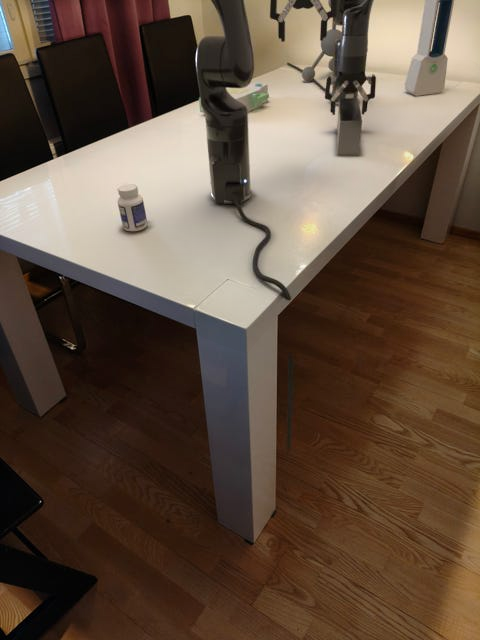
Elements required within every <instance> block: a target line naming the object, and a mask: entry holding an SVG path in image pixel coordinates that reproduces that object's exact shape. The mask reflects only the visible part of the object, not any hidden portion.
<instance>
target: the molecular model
mask: <svg viewBox="0 0 480 640" xmlns="http://www.w3.org/2000/svg"><path fill="white" fill-rule="evenodd" d="M328 7H329V8H330V9H331V0H328ZM331 23H332V24H331V29H329V30H328V29H327V35H326V38H323V41H320V48H321V52H320V54H318V56H317V58H316V59H315V61H314V62H313V64H312V65H311V66H306V67H304V68H303V69H302V70H303V71H302V72H301V78H302V80H304V81H305V82H311V81H313V79H315V76H316V71H315V69H316V67H317V66H318V64H320V62H321V60H322V58H323V57H324V56H327V57H332V58H330V59H329V61H328V69H329V71H331V72H333V68H334V52H335V41H336V39H338V38H340V37H341V36H342V30H339V29H337V25H335V24H334V22H333V20H332V21H331Z"/></svg>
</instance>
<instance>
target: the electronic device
mask: <svg viewBox="0 0 480 640" xmlns="http://www.w3.org/2000/svg"><path fill="white" fill-rule="evenodd" d="M454 5H455V0H424V6H423V11H422V17H421V24H420V31H419V32H420V33H419V37H418V43H417V44H418V45H417V51H416V53H415V54H414V55H413V57H411V60H410V64H409V66H408V71H407V75H406V78H405V81H404V90H405V91H406V93H408V94H411V95H413V96H415V97H418V96H425V95H435V94H441V93H442V92H443V91H444V89H445V85H446V76H447V67H448V59H449V58H448V57H447V55H446V54H445V51H446V47H447V42H448V37H449V32H450V25H451V21H452V16H453V9H454Z"/></svg>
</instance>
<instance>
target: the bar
mask: <svg viewBox="0 0 480 640" xmlns="http://www.w3.org/2000/svg"><path fill="white" fill-rule="evenodd" d="M362 118H363V117H362V110H361V105H360V99H359V97H358V98H339V105H338V110H337V125H336V127H337V128H336V138H337V140H336V142H337V145H336V147H337V148H336V149H337V156H341V157H342V156H347V157H349V156H357V157H358V156H360V146H361V136H362V128H363V127H362V126H363V119H362Z"/></svg>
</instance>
